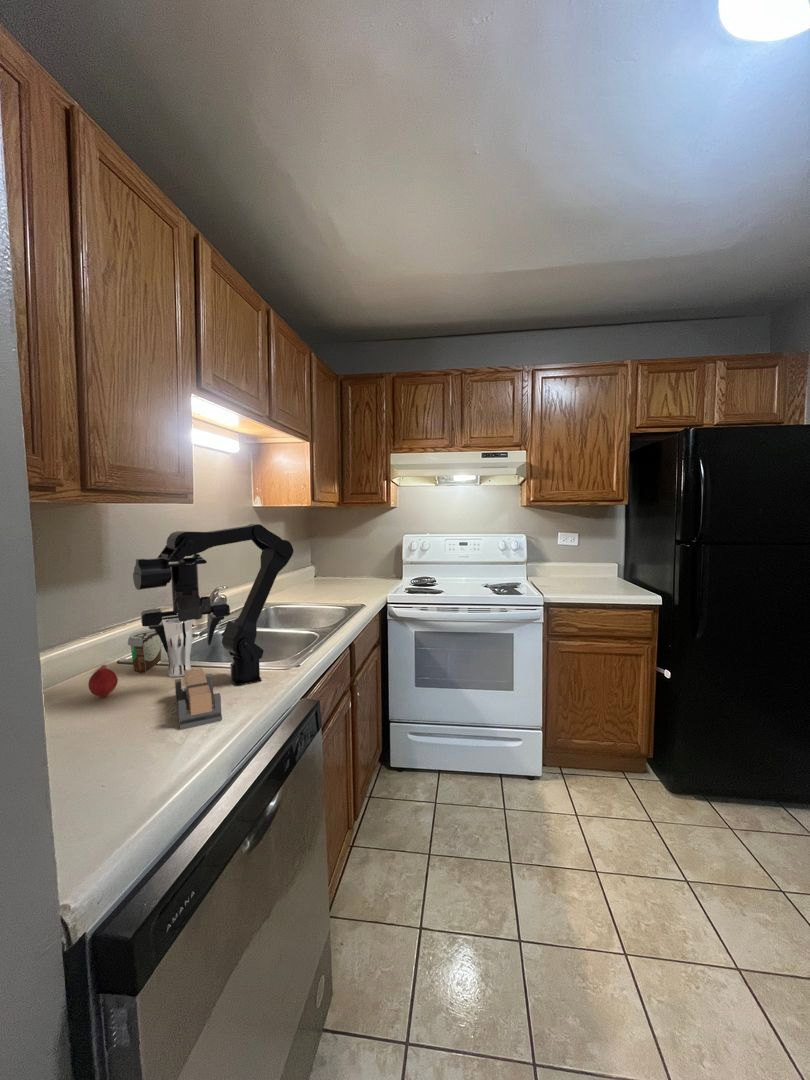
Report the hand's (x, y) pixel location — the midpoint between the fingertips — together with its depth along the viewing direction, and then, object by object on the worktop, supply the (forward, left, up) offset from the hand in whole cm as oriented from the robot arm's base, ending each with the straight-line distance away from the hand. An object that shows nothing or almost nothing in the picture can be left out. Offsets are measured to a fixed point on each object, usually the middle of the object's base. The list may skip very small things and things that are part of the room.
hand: (188, 648), depth 109 cm
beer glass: (+1, -19, -12) cm, 23 cm away
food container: (+10, -30, -12) cm, 34 cm away
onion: (+18, -10, -12) cm, 24 cm away
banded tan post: (-1, +9, -9) cm, 13 cm away
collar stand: (-1, +9, -12) cm, 15 cm away
